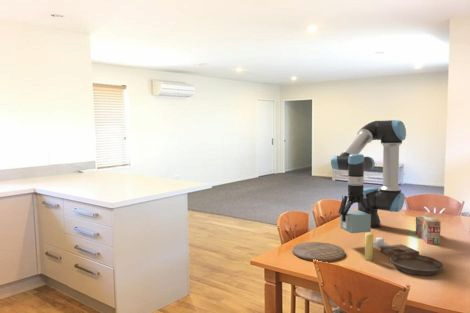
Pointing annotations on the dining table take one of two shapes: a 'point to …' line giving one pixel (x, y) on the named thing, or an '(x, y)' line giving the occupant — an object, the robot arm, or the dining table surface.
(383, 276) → the dining table surface
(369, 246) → the peg
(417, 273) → the plant saucer
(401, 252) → the socket board
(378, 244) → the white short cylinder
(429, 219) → the printed food box
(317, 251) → the trivet
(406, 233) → the dining table surface
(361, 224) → the block
